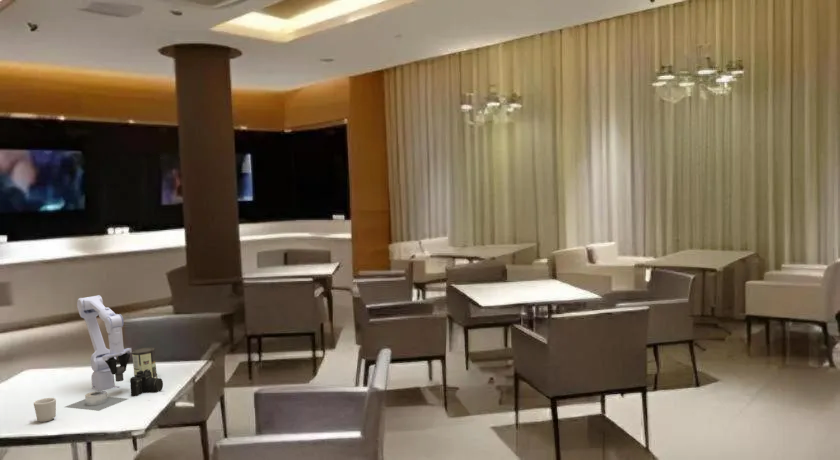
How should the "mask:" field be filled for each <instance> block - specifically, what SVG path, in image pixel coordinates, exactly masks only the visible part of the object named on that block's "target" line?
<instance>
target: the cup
mask: <svg viewBox="0 0 840 460" xmlns="http://www.w3.org/2000/svg"><path fill="white" fill-rule="evenodd" d="M56 403H57V399H56V398H55V397H45V398H41V399H37V400H34V402H33V408H34V411H35V416H36V419H37V421H38V422H41V423H46V422H50V421H52V420H54V419H55V418H56V415H57V414H56V413H57V404H56Z"/></svg>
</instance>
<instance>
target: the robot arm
mask: <svg viewBox="0 0 840 460" xmlns="http://www.w3.org/2000/svg"><path fill="white" fill-rule="evenodd" d="M76 307H77V311H78V314H79V316H80V318H81V319H83V320H84V322H85V324H86V325H85V326H86V327H87V329H86V330H87V331H88V335H89V337H90V340H91V344H92V347H93V350H94V352H93V353H92V354H91V356H90V358H89V360H90V366H91V369H92V371H93V372H92V374H91V387H92V388H91V389H93V390H97V391H107V390H111V389H113V388H115V389H119V388H120V386H119V385H117V386H116V385H115V374H116V373H117V368H116V366H117V365H118V361H119V364H120V365H119V366H124V369H125V372H126V371H127V366H128V362H129V359H130V357H131V354H132V348H131V347H127V348H125V347H124V337H123V336H124V335H123V327H124V323H125V322H124V321H125V320H124V317H123V315H122V314H121V313H119V314H118V313H115V311H113V310H112V309H111V308H110V307H106V306H105V305H104V300H103V297H102V296H101V295H100V294H97V295H92V296H87V297H79V298H78V299H77V302H76ZM97 317H99V319H100V320H102V321H103V322H104V326H105V329H106V332H107V335H108V337H107V338H108V345H109V348H107V347H106V343H105V341H104V337H103V334H102V332H101V329H100V328H101V327H100V325H99V322H98V319H97ZM117 358H118V359H117Z"/></svg>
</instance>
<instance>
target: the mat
mask: <svg viewBox="0 0 840 460" xmlns="http://www.w3.org/2000/svg"><path fill="white" fill-rule="evenodd" d="M107 400H108V401H107V402H106V403H104V404H101V405H97V406H87V405H86V401H85V398H84V399H81V400H80V401H76V402H74V403H71V404H69V405H66V406H64V408H69V409H79V410H88V411H98V412H100V411H102V410H104V409H105V410H106V409H107V408H109V407H110V408H111V406H114V405H117V404H120V403H121V402H124V401H127V400H128V398H124V397H114V396H112V397H111V396H107Z"/></svg>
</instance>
